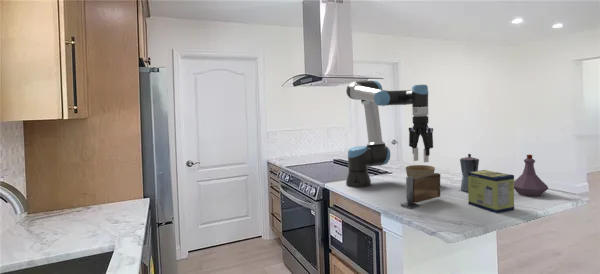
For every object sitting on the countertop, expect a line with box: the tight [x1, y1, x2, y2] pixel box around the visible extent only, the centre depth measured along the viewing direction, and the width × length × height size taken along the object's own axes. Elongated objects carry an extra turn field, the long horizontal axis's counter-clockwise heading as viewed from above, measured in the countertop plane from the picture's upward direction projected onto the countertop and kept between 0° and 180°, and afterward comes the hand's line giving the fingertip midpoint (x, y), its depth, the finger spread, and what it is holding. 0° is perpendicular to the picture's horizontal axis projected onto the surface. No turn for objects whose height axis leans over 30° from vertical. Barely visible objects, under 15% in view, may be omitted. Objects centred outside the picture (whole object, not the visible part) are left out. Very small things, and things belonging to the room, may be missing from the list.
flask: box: [514, 154, 549, 198], centre depth 166 cm, size 16×16×20 cm
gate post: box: [400, 176, 420, 210], centre depth 154 cm, size 6×6×14 cm
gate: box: [413, 172, 441, 204], centre depth 160 cm, size 3×18×12 cm, turn 119°
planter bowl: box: [405, 164, 436, 177], centre depth 194 cm, size 16×16×11 cm
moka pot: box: [459, 153, 480, 193], centre depth 176 cm, size 10×15×20 cm, turn 174°
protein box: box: [467, 169, 515, 214], centre depth 148 cm, size 10×16×16 cm
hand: (421, 161), depth 167 cm, fingers open, 6 cm apart
